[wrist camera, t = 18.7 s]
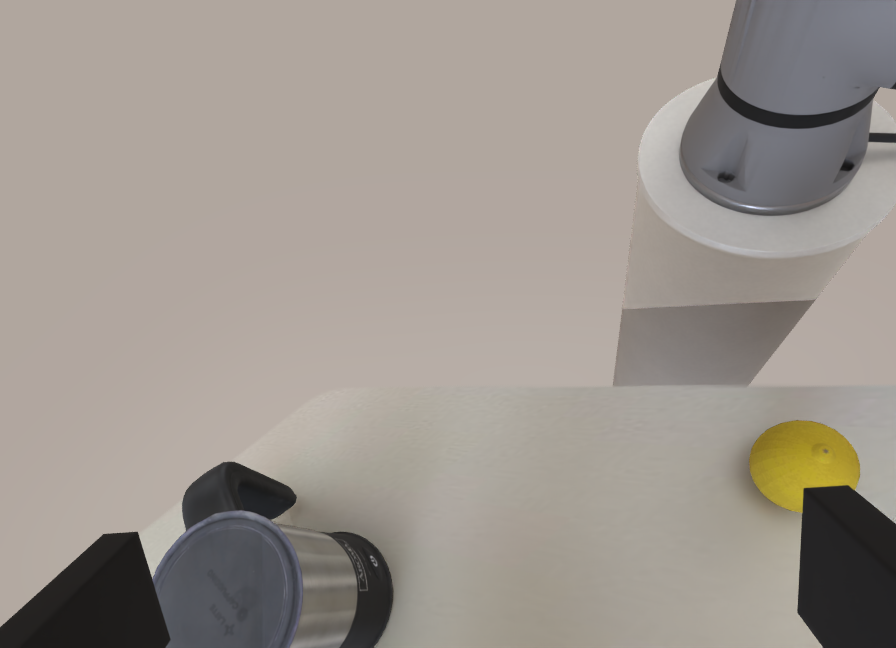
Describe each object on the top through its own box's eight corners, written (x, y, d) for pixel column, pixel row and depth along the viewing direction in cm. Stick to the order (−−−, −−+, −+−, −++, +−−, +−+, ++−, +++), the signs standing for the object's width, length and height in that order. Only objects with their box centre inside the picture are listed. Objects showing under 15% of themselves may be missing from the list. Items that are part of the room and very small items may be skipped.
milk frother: (420, 590, 38) (336, 589, 26) (271, 791, 35) (89, 907, 22) (301, 471, 45) (187, 424, 32) (166, 632, 41) (-23, 650, 29)
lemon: (837, 462, 36) (897, 432, 29) (811, 536, 34) (868, 522, 27) (752, 425, 38) (789, 389, 31) (724, 493, 37) (756, 470, 30)
